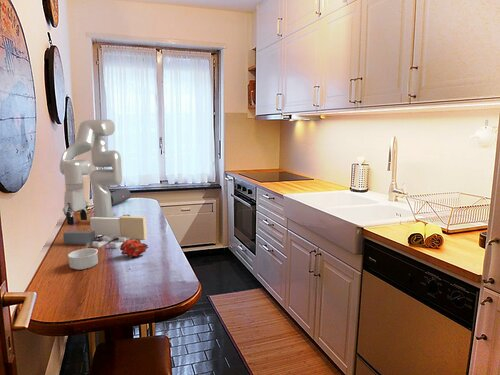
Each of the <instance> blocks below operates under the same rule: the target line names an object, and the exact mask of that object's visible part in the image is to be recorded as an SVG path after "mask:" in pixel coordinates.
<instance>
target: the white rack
mask: <svg viewBox="0 0 500 375" xmlns="http://www.w3.org/2000/svg"><path fill="white" fill-rule="evenodd" d="M121 216H122V217H121ZM121 216H119V217H120V218H119V217H113V218H101V217H95V216H92V217H90V218H89V223H90V231H95V235H105V236H109V237H101V238H102V241H96V242H92V243H93V244H92V248H96V249H98V248H101V247H102V246H104V245H106V244H108V243H109V249H117V248H120V247H121V245H122V244H123V242H125V241H126V240H130V239H131V240H132V239H134V240H136V239H137V240H141V239H142V241H143V240H146V239H148V229H147V217H146V216H137V215H136V216H134V215H133V216H131V215H130V216H123V215H121ZM115 239H118V242H113V240H115Z"/></svg>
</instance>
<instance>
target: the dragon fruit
mask: <svg viewBox="0 0 500 375" xmlns="http://www.w3.org/2000/svg"><path fill="white" fill-rule="evenodd" d="M148 248H149V246H148V244H147V243H145V242H141V239H130V240H126V241H125V242H123V244H122V245H121V246H119V249H120V251H121V253H120V254H121V255H124V256H125V255H126V256H127V258H129V257H130V259H132V258H133V257H137V258H140V257H142V256H144V254H143V253H146V251H147V249H148Z"/></svg>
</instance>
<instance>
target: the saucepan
mask: <svg viewBox="0 0 500 375" xmlns="http://www.w3.org/2000/svg"><path fill="white" fill-rule="evenodd" d="M89 244H90V242H89V243H87V244H86V245H84V248H81V249H79V248H78V249H76V250H73V251H70V252H68V254H67V255H66V256H67V257H68V264H69V267H70V268H71V269H74V270H77V271H78V270H79V271H80V270H87V268H88V269H90V268H93V267H94V266H95V265H97V264H98V263H99V260H98V259H99V257H98V252H99V250H98V248H93V247H92V248H89V246H90V245H89Z"/></svg>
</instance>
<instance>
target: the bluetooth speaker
mask: <svg viewBox="0 0 500 375" xmlns="http://www.w3.org/2000/svg"><path fill="white" fill-rule="evenodd" d="M110 194H111V205H112V206H114V207H115V206H119V205H121V204H124V202H125V201H128V200H129V199H131V197H132V193H131V191H130V190H129V189H127V188H122V189H119V190H115V191H112V192H111V191H110Z"/></svg>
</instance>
